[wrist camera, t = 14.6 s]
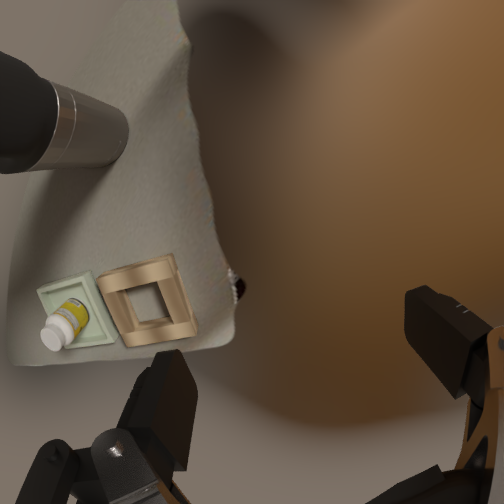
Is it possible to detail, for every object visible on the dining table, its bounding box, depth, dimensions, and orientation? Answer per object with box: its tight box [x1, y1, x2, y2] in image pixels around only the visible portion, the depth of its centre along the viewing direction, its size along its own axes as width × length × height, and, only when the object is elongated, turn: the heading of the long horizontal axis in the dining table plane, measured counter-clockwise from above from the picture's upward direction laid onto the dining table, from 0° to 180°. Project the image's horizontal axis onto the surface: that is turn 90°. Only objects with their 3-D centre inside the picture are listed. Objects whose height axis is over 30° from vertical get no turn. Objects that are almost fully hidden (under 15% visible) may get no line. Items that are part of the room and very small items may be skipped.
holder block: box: [96, 253, 198, 347], centre depth 39 cm, size 12×12×3 cm
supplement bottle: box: [41, 297, 90, 351], centre depth 36 cm, size 5×5×10 cm
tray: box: [36, 270, 119, 349], centre depth 40 cm, size 12×12×2 cm
